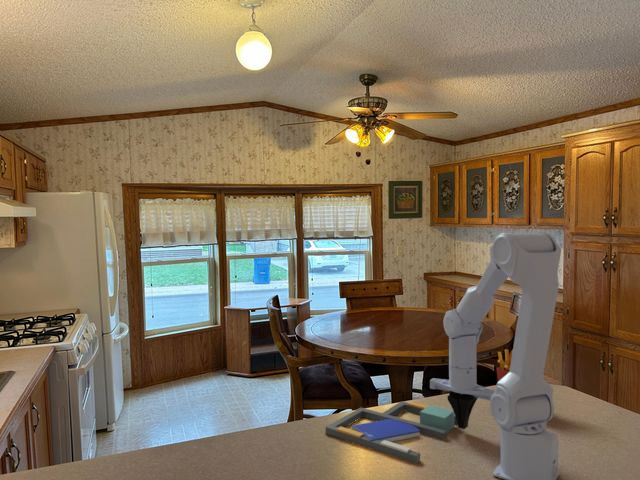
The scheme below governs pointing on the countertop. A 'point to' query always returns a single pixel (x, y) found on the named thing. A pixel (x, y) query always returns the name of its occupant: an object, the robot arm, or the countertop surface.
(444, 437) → the gray open frame
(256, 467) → the countertop surface
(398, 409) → the bar
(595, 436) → the countertop surface
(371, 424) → the blue book
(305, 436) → the countertop surface
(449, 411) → the teal block
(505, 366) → the french fries
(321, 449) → the countertop surface
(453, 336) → the robot arm
